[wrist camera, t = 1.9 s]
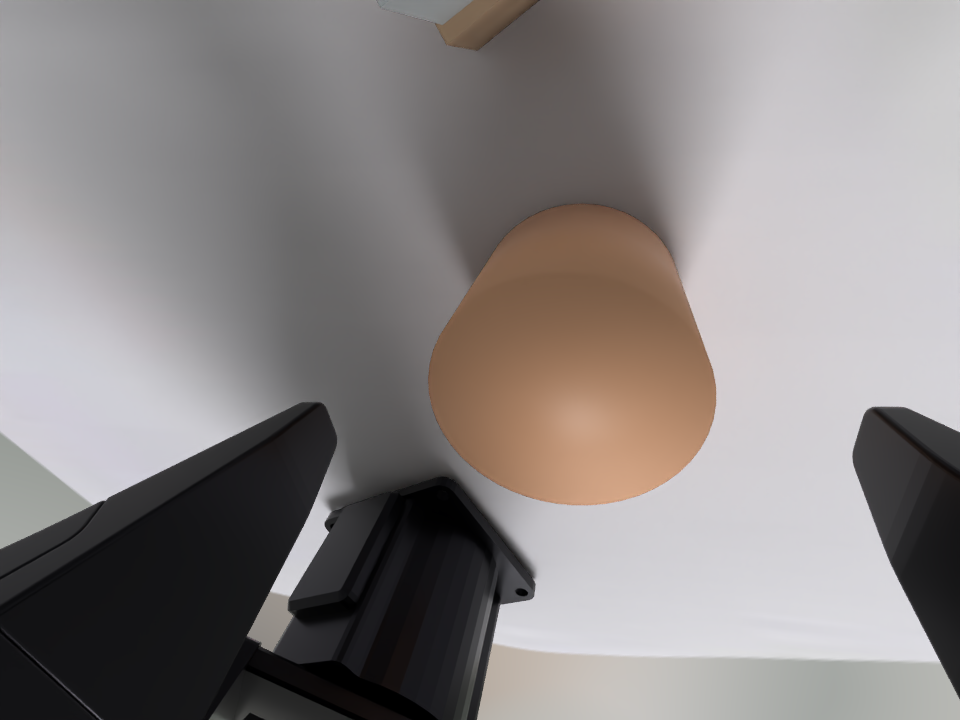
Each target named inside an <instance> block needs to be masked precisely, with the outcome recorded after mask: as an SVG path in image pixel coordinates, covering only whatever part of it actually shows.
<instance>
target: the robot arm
mask: <svg viewBox="0 0 960 720" xmlns="http://www.w3.org/2000/svg"><path fill="white" fill-rule="evenodd" d="M336 445H337V435H336V432H335V429H334V427H333V424H332V422H331V419H330V416H329V414H328V411H327V409H326V407H325V406H324V404H322V403H320V402H302V403H299V404H297V405H295V406H293V407H291V408H289V409H287V410H285V411H283V412H281V413H279V414H277V415H275V416H273V417H271V418H269V419H267V420H265V421H263V422H261V423H259V424H257V425H255V426H253V427H251V428H249V429H247V430H245V431H243V432H241V433H239V434H236V435H234V436H232V437H230V438H228V439H226V440H224V441H222V442H220V443H218V444H216V445H214V446H212V447H210V448H208V449H206V450H204V451H202V452H200V453H198V454H196V455H194V456H192V457H190V458H188V459H186V460H184V461H182V462H180V463H178V464H176V465H174V466H172V467H170V468H168V469H166V470H164V471H162V472H160V473H157V474H155V475H153V476H151V477H149V478H147V479H145V480H143V481H141V482H139V483H137V484H135V485H133V486H131V487H129V488H127V489H125V490H123V491H121V492H119V493H117V494H115V495H113V496H111V497H109V498H108V499H107V500H106V501H101V502H99V503H97V504H95V505H92V506H90V507H88V508H86V509H84V510H82V511H81V512H78V513H76V514H74V515H72V516H70V517H68V518H66V519H64V520H62V521H60V522H58V523H55V524H54V525H51V526H50V527H47V528H45V529H43V530H41V531H39V532H37V533H34V534H32V535H30V536H28V537H26V538H24V539H21V540H20V541H17V542H15V543H13V544H11V545H8V546H6V547H4V548H2V549H0V720H477V715H478V710H479V706H480V701H481V696H482V691H483V686H484V681H485V676H486V671H487V666H488V661H489V656H490V651H491V647H492V642H493V637H494V632H495V627H496V622H497V617H498V612H499V607H500V605H501V604H507V603H513V602H520V601H526V600H530V599H532V598H533V597H534V593H535V585H536V584H535V582H534V580H533V579H532V578H531V577H530V575H529V574H528V573H527V572H526V570H525V569H524V568H523V566H522V565H521V564H520V563H519V561H518V560H517V559H516V558H515V556H514V555H513V554H512V553H511V551H510V550H509V549H508V547H507V546H506V545H505V544H504V542H503V541H502V540H501V539H500V537H499V536H498V535H497V534H496V532H495V531H494V530H493V528H492V527H491V526H490V525H489V523H488V522H487V521H486V520H485V518H484V517H483V516H482V514H481V513H480V512H479V511H478V509H477V508H476V507H475V506H474V504H473V503H472V502H471V501H470V499H469V498H468V497H467V495H466V494H465V493H464V492H463V490H462V489H461V488H460V487H459V485H458V484H457V483H456V482H455V481H454V480H452V479H450V478H447V477H438V478H435V479H432V480H429V481H426V482H423V483H420V484H417V485H414V486H410V487H407V488H404V489H401V490H398V491H395V492H388V493H385V494H382V495H379V496H376V497H373V498H370V499H367V500H364V501H361V502H358V503H355V504H352V505H349V506H346V507H345V508H343V509H340V510H337V511H334V512H332V513H330V515H329V516H328V518H327V520H326V521H325V527H326V529H327V530H328V531H329V534H328V535H327V537H326V539H325V540H324V542H323V544H322V545H321V547H320V549H319V550H318V552H317V554H316V555H315V557H314V559H313V560H312V562H311V563H310V565H309V567H308V568H307V570H306V572H305V573H304V575H303V577H302V578H301V580H300V582H299V583H298V585H297V586H296V588H295V590H294V591H293V593H292V595H291V596H290V598H289V600H288V611H289V612H290V613H291V614H292V615H293V618H292V619H291V621H290V623H289V625H288V626H287V628H286V630H285V631H284V633H283V635H282V637H281V638H280V640H279V642H278V644H277V645H276V647H275V649H274V651H273V652H271V651H269V650H267V649H264V648H262V647H261V642H259V641H256V640H254V639H252V638H250V637H248V636H247V634H248V632H249V631H250V629H251V627H252V625H253V623H254V621H255V619H256V617H257V615H258V613H259V611H260V609H261V607H262V605H263V603H264V602H265V600H266V598H267V596H268V594H269V592H270V590H271V588H272V586H273V584H274V582H275V580H276V578H277V576H278V574H279V573H280V571H281V569H282V567H283V565H284V563H285V561H286V559H287V557H288V555H289V553H290V551H291V549H292V547H293V545H294V543H295V542H296V540H297V538H298V536H299V534H300V532H301V530H302V528H303V526H304V524H305V522H306V520H307V518H308V516H309V514H310V511H311V509H312V507H313V504H314V502H315V499H316V497H317V494H318V492H319V489H320V487H321V484H322V482H323V479H324V477H325V474H326V472H327V469H328V467H329V464H330V462H331V459H332V457H333V454H334V451H335V449H336ZM853 465H854V468H855V471H856V474H857V476H858V479H859V482H860V484H861V487H862V490H863V492H864V495H865V498H866V500H867V503H868V506H869V509H870V511H871V514H872V517H873V519H874V522H875V525H876V527H877V530H878V533H879V536H880V538H881V541H882V544H883V546H884V549H885V551H886V554H887V556H888V559H889V561H890V563H891V565H892V568H893V570H894V572H895V574H896V576H897V578H898V580H899V582H900V584H901V586H902V588H903V590H904V592H905V594H906V596H907V598H908V600H909V601H910V603H911V605H912V607H913V609H914V611H915V613H916V615H917V617H918V619H919V621H920V623H921V625H922V627H923V629H924V631H925V633H926V635H927V637H928V638H929V640H930V642H931V644H932V646H933V648H934V650H935V652H936V654H937V656H938V658H939V660H940V662H941V664H942V666H943V668H944V670H945V672H946V674H947V675H948V677H949V679H950V681H951V683H952V685H953V687H954V689H955V691H956V693H957V695H958V697H959V699H960V432H958V431H956V430H953V429H951V428H949V427H947V426H945V425H943V424H940V423H938V422H936V421H934V420H932V419H930V418H928V417H925V416H923V415H921V414H919V413H917V412H915V411H912V410H910V409H908V408H905V407H872V408H870V409H868V410H867V411H866V412H865V414H864V416H863V419H862V422H861V426H860V429H859V432H858V435H857V439H856V442H855V445H854V449H853ZM442 490H443V491H442ZM444 491H446V492H444Z"/></svg>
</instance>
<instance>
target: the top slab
mask: <svg viewBox="0 0 960 720" xmlns="http://www.w3.org/2000/svg"><path fill="white" fill-rule="evenodd" d="M472 1H473V0H377V2H378V4H379V6H380V8H382V9H386V10H389V11H393V12H397V13H400V14H404V15H408V16H411V17H415V18H419V19H422V20H426V21H430V22H433V23H437V24H441V25H443V24H445V23H446V22H447V21H448V20H450V19H451V18H452V17H453V16H455V15H456V14H457V13H458V12H460V11H461V10H462V9H463V8H465V7H466V6H467V5H468V4H470V3H471V2H472Z"/></svg>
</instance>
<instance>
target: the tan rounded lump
mask: <svg viewBox="0 0 960 720" xmlns="http://www.w3.org/2000/svg"><path fill="white" fill-rule="evenodd" d="M428 384H429V395H430V400H431V405H432V409H433V412H434V414H435V417H436V420H437V422H438V424H439V426H440V428H441V430H442V432H443V434H444V435H445V437H446V438H447V440H448V441H449V443H450V444H451V445H452V447H453V448H454V449H455V450H456V451H457V452H458V454H459V455H460V456H461V457H462V458H463V459H464V460H465V461H466V462H467V463H469V464H470V465H471V466H472V467H473V468H474V469H476V470H477V471H478V472H480V473H481V474H482V475H484V476H485V477H487V478H488V479H490V480H492V481H493V482H495V483H497V484H498V485H500V486H503V487H505V488H507V489H509V490H511V491H513V492H516V493H518V494H521V495H524V496H526V497H530V498H534V499H537V500H541V501H546V502H551V503H557V504H567V505H597V504H607V503H612V502H617V501H622V500H626V499H629V498H632V497H636V496H639V495H641V494H643V493H646V492H648V491H650V490H653V489H654V488H656V487H658V486H660V485H662V484H663V483H665V482H667V481H668V480H670V479H671V478H672V477H674V476H675V475H676V474H678V473H679V472H680V471H681V470H682V469H683V468H684V467H685V466H686V465H687V464H688V463H689V462H690V461H691V460H692V459H693V458H694V456H695V455H696V454H697V452H698V451H699V450H700V449H701V447H702V445H703V443H704V441H705V439H706V438H707V436H708V434H709V431H710V428H711V425H712V422H713V419H714V413H715V407H716V384H715V379H714V374H713V369H712V366H711V363H710V361H709V358H708V355H707V352H706V350H705V347H704V344H703V341H702V339H701V336H700V333H699V330H698V327H697V325H696V322H695V319H694V316H693V314H692V311H691V308H690V305H689V302H688V300H687V297H686V294H685V291H684V289H683V286H682V283H681V280H680V278H679V275H678V272H677V269H676V267H675V264H674V261H673V258H672V257H671V255H670V253H669V251H668V249H667V248H666V246H665V245H664V244H663V242H662V241H661V240H660V238H659V237H658V236H657V235H656V234H655V233H654V232H653V231H652V230H651V229H650V228H649V227H647V226H646V225H645V224H643V223H642V222H640V221H639V220H638V219H636V218H634V217H632V216H630V215H628V214H626V213H624V212H622V211H619V210H616V209H613V208H610V207H605V206H600V205H594V204H569V205H563V206H558V207H553V208H550V209H547V210H544V211H541V212H539V213H537V214H535V215H533V216H531V217H529V218H527V219H526V220H524V221H523V222H521V223H520V224H518V225H517V226H516V227H514V228H513V229H512V230H511V231H510V232H509V233H508V234H507V235H506V236H505V237H504V238H503V239H502V241H501V242H500V243H499V244H498V246H497V247H496V249H495V250H494V252H493V254H492V255H491V257H490V258H489V260H488V261H487V263H486V264H485V266H484V267H483V269H482V271H481V272H480V274H479V275H478V277H477V278H476V280H475V281H474V283H473V285H472V286H471V288H470V289H469V291H468V292H467V294H466V295H465V297H464V299H463V300H462V302H461V303H460V305H459V306H458V308H457V309H456V311H455V313H454V314H453V316H452V317H451V319H450V320H449V322H448V323H447V325H446V326H445V328H444V330H443V331H442V333H441V334H440V336H439V338H438V340H437V343H436V345H435V347H434V350H433V353H432V357H431V361H430V366H429V376H428Z"/></svg>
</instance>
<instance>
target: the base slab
mask: <svg viewBox="0 0 960 720" xmlns="http://www.w3.org/2000/svg"><path fill="white" fill-rule="evenodd" d="M538 1H539V0H473V1H472V2H471V3H470V4H468V5H467V6H466V7H465V8H463V9H462V10H461V11H460V12H458V13H457V14H456V15H455V16H453V17H452V18H451V19H450V20H448V21H447V22H446V23H445V24H443V25H441V24H437V23H435V25H436V26H437V28H438V30H439V32H440V34H441V36H442V37H443V39H444V41H445V43H446V45H449V46H454V47H460V48H465V49H470V50H476V51H477V50H479V49H480V48H481V47H482V46H484V45H485V44H486V43H487V42H489V41H490V40H491V39H492V38H493V37H495V36H496V35H497V34H498V33H500V32H501V31H502V30H503V29H505V28H506V27H507V26H508V25H510V24H511V23H512V22H513V21H514V20H516V19H517V18H518V17H519V16H521V15H522V14H523V13H524V12H526V11H527V10H528V9H529V8H531V7H532V6H533V5H534V4H535V3H537V2H538Z"/></svg>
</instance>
